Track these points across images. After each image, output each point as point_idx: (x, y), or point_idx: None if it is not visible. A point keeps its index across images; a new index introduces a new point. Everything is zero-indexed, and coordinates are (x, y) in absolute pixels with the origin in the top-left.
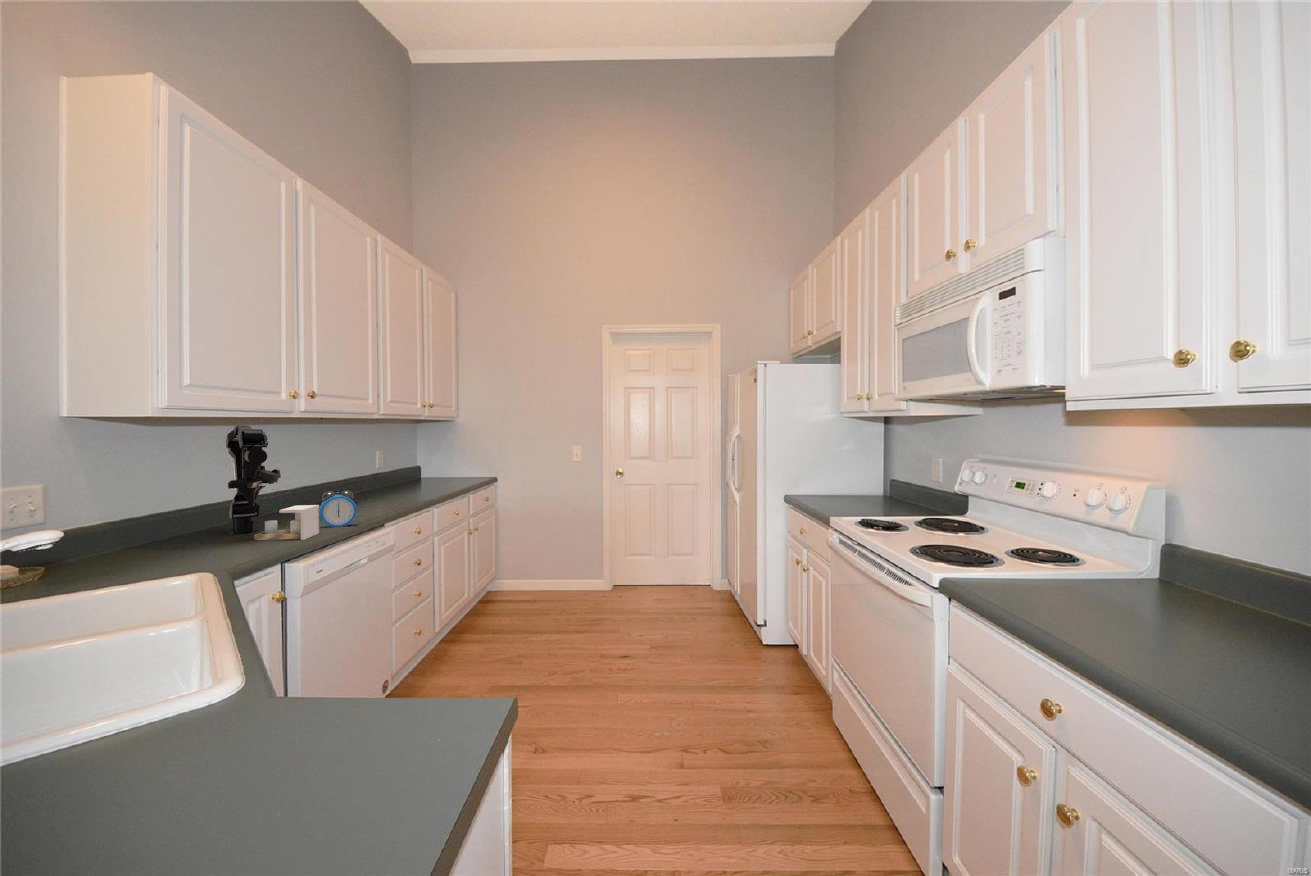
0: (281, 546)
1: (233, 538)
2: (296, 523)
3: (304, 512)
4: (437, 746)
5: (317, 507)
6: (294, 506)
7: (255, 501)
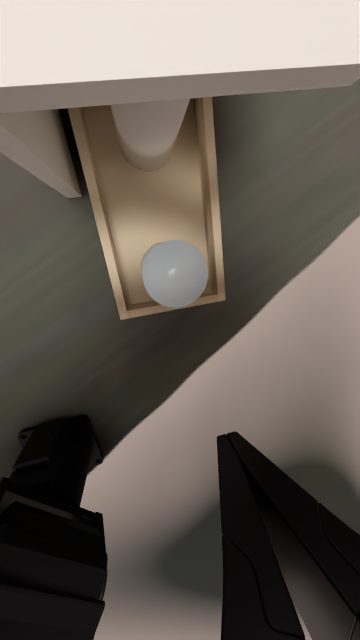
0: (324, 97)
1: (158, 405)
2: None
3: None
4: None
5: None
6: (48, 39)
7: (224, 465)
